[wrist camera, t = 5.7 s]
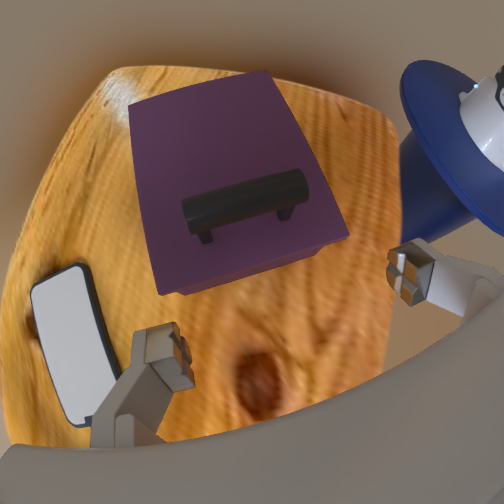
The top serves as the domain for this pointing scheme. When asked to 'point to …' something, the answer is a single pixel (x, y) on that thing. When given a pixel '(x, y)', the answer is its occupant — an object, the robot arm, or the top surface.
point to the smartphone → (74, 342)
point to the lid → (226, 181)
